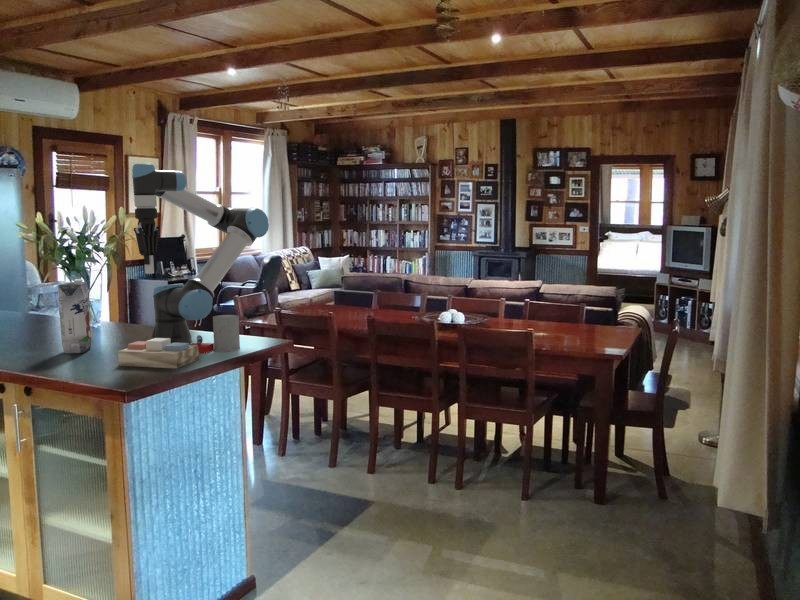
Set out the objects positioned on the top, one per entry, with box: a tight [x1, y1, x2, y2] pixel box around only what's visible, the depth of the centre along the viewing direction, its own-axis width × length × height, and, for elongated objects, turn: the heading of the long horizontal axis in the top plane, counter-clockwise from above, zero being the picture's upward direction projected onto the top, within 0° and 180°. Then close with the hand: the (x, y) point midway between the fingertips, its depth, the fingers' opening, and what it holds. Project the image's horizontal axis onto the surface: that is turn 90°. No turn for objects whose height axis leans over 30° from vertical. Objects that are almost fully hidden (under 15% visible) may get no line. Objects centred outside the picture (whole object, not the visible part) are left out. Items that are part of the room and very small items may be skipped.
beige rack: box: [117, 345, 200, 369], centre depth 242 cm, size 14×22×5 cm, turn 76°
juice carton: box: [57, 278, 92, 354], centre depth 262 cm, size 9×10×27 cm
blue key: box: [165, 342, 190, 351], centre depth 240 cm, size 6×6×3 cm
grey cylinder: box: [212, 314, 241, 353], centre depth 264 cm, size 10×10×12 cm
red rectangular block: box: [189, 334, 215, 354], centre depth 261 cm, size 8×7×6 cm
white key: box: [146, 338, 171, 350], centre depth 242 cm, size 6×6×3 cm
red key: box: [127, 340, 147, 350], centre depth 244 cm, size 6×6×3 cm
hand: (149, 273), depth 255 cm, fingers closed
